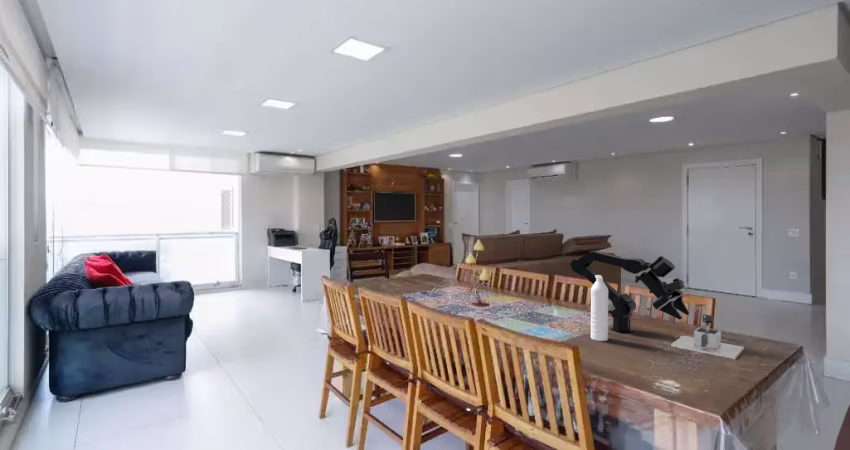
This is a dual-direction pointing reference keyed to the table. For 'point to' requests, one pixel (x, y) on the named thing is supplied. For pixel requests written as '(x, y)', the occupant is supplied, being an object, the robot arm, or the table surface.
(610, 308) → the air freshener
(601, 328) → the water bottle
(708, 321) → the plunger
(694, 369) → the table surface
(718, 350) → the white socket holder tray
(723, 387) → the table surface
